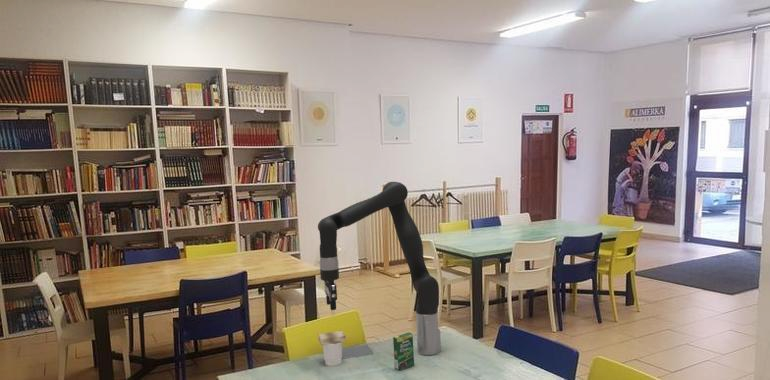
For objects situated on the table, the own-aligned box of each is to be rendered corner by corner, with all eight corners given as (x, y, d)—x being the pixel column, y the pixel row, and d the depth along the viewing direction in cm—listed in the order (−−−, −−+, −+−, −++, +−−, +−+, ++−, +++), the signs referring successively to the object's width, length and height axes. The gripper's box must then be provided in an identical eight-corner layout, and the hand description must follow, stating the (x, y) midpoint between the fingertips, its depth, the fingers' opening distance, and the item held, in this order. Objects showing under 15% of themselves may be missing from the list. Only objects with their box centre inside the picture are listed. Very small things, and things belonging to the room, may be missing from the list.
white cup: (339, 369, 194) (338, 344, 194) (321, 368, 196) (319, 344, 196) (345, 361, 202) (344, 337, 202) (327, 360, 204) (326, 337, 203)
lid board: (342, 336, 203) (342, 330, 203) (345, 341, 197) (345, 335, 197) (318, 340, 200) (318, 334, 200) (321, 345, 194) (320, 339, 194)
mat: (367, 346, 218) (367, 344, 218) (374, 356, 206) (374, 353, 206) (336, 351, 214) (336, 349, 214) (342, 361, 202) (341, 359, 202)
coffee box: (398, 371, 190) (396, 338, 190) (394, 368, 193) (392, 336, 192) (414, 366, 194) (413, 333, 194) (410, 363, 197) (409, 331, 196)
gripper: (342, 269, 192) (344, 310, 192) (335, 263, 205) (337, 301, 206) (323, 272, 189) (325, 313, 190) (317, 265, 203) (319, 303, 204)
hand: (331, 306), depth 198 cm, fingers open, 8 cm apart
